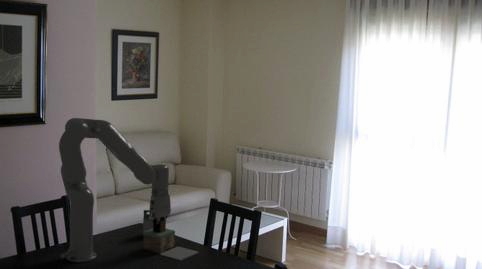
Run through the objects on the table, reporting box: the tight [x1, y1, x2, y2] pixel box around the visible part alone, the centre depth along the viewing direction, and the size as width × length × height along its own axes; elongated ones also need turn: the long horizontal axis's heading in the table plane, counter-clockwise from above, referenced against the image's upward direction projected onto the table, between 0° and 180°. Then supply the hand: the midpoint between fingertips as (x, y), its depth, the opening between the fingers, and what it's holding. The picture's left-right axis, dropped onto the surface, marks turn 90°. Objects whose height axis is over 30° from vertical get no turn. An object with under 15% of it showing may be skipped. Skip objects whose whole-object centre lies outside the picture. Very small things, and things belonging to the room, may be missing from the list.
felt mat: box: [159, 246, 200, 262], centre depth 249 cm, size 13×12×1 cm
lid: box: [142, 218, 176, 238], centre depth 254 cm, size 10×10×7 cm
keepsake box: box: [143, 232, 176, 255], centre depth 255 cm, size 10×10×7 cm
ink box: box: [142, 209, 153, 237], centre depth 273 cm, size 7×4×13 cm, turn 84°
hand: (159, 230), depth 254 cm, fingers closed on lid, 3 cm apart
